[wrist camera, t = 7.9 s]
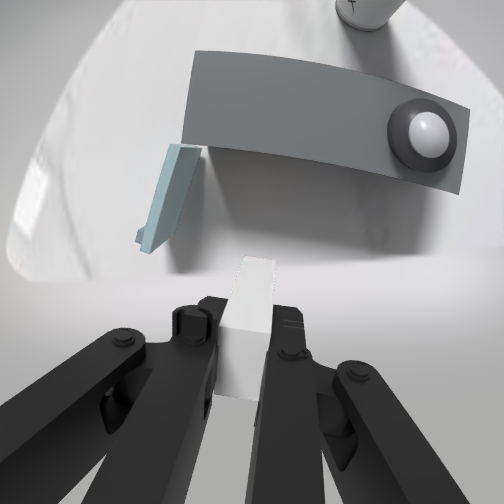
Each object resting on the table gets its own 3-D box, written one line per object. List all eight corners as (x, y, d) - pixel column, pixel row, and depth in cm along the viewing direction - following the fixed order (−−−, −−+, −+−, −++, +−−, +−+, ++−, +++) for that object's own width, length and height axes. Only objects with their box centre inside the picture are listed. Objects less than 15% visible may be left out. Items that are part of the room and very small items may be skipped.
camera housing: (424, 117, 30) (482, 107, 19) (415, 183, 33) (470, 198, 21) (217, 77, 31) (188, 42, 19) (207, 146, 33) (172, 142, 22)
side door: (185, 142, 33) (159, 140, 25) (202, 148, 33) (180, 147, 25) (159, 226, 36) (130, 246, 28) (175, 232, 36) (149, 254, 28)
